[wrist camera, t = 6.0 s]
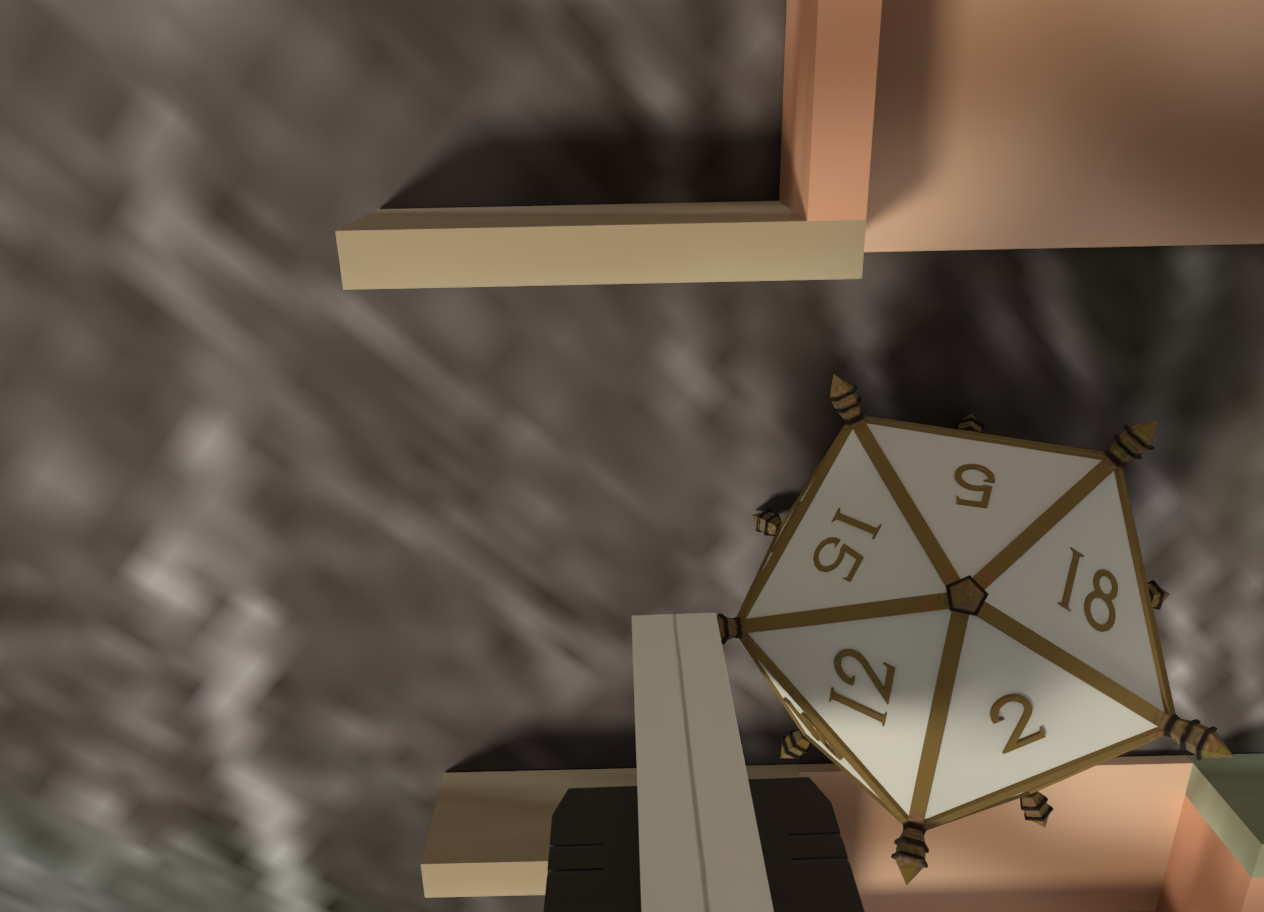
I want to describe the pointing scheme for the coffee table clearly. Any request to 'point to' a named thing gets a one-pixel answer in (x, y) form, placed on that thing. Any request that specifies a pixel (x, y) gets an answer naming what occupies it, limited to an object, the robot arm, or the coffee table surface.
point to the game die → (961, 618)
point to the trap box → (834, 249)
